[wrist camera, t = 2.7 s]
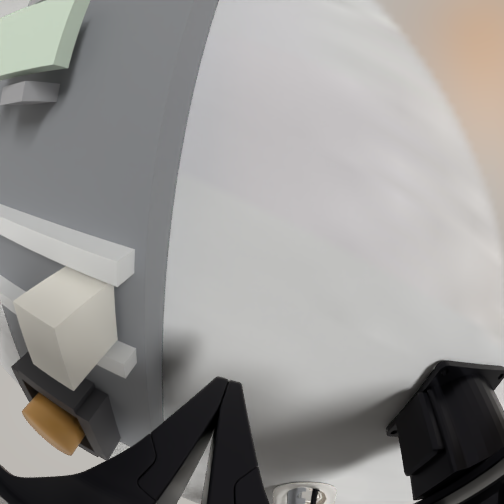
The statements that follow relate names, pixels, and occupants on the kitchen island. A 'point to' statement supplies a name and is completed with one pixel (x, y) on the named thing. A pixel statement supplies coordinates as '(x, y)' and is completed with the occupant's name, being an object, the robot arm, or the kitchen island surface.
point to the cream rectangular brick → (68, 324)
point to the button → (54, 424)
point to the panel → (102, 196)
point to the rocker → (40, 37)
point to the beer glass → (304, 493)
